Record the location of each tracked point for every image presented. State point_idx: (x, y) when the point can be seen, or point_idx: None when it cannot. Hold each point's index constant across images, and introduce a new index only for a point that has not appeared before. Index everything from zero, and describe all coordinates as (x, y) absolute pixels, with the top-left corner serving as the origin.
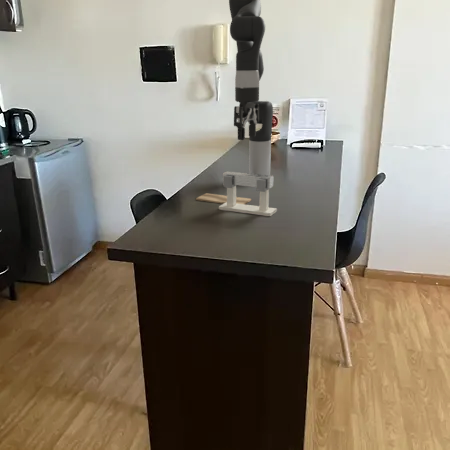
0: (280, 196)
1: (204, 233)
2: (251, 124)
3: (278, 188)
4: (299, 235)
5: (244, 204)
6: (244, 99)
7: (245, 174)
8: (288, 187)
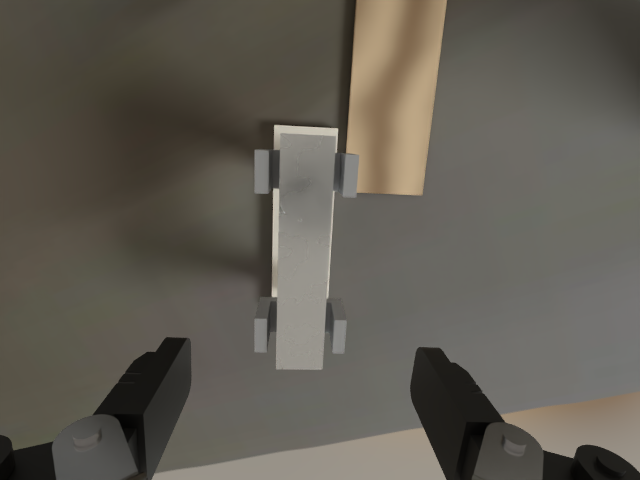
0: (499, 267)
1: (39, 183)
2: (470, 456)
3: (604, 229)
4: None
5: (332, 203)
6: None
7: (302, 251)
8: (623, 258)
